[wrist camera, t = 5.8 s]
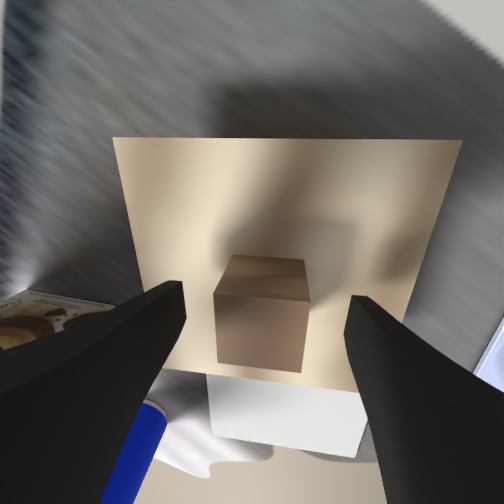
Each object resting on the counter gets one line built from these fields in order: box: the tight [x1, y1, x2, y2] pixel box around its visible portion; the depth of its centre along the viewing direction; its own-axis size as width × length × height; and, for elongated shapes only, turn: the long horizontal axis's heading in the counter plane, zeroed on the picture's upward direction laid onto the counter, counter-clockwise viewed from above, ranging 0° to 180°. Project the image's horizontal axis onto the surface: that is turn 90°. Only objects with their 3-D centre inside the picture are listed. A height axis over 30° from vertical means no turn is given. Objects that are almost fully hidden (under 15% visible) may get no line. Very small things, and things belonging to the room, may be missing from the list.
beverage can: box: [100, 399, 167, 504], centre depth 20 cm, size 5×5×15 cm
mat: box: [206, 373, 368, 458], centre depth 22 cm, size 15×15×1 cm
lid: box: [112, 137, 463, 393], centre depth 11 cm, size 14×14×4 cm
